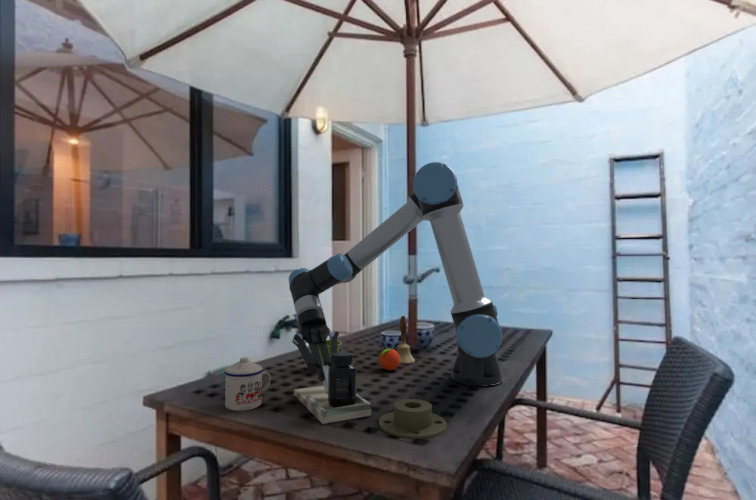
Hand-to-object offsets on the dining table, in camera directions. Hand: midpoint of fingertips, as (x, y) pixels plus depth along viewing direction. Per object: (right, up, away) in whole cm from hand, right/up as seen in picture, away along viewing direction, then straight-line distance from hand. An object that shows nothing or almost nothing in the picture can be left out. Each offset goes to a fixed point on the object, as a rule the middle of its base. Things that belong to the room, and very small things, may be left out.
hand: (330, 391), depth 107 cm
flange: (+20, -4, -11) cm, 23 cm away
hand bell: (+21, -5, +47) cm, 51 cm away
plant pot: (-5, -4, +34) cm, 35 cm away
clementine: (+15, -4, +34) cm, 37 cm away
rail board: (0, -3, +1) cm, 4 cm away
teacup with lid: (-20, -3, +1) cm, 21 cm away
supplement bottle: (+3, -2, -3) cm, 5 cm away
